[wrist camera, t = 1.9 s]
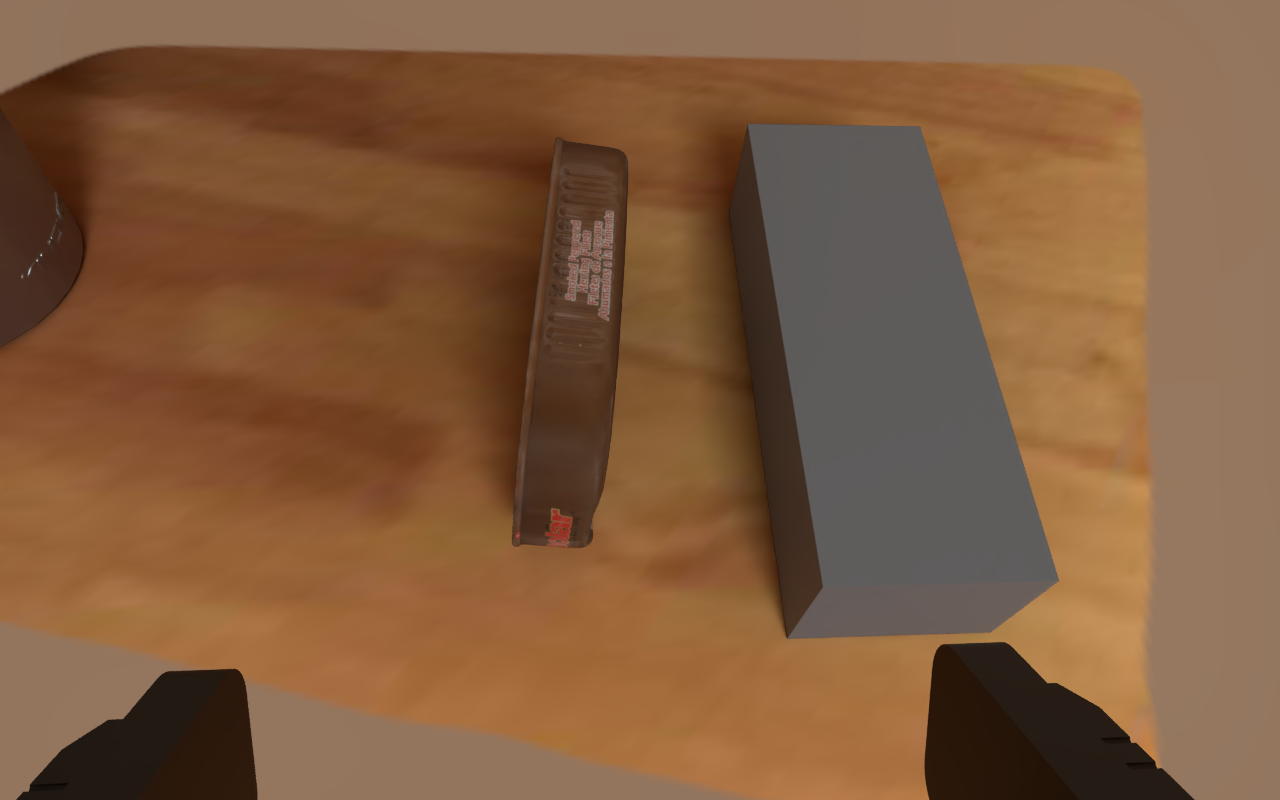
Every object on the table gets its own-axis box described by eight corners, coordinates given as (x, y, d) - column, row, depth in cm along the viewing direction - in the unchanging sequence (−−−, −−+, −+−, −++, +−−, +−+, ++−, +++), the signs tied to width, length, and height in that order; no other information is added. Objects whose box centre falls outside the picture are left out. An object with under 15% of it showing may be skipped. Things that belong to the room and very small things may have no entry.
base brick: (786, 638, 30) (823, 587, 25) (728, 212, 40) (747, 123, 35) (990, 632, 30) (1058, 580, 26) (883, 213, 40) (920, 126, 36)
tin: (548, 245, 38) (543, 82, 31) (622, 250, 38) (635, 89, 31) (508, 585, 30) (489, 472, 23) (601, 590, 30) (612, 479, 23)
